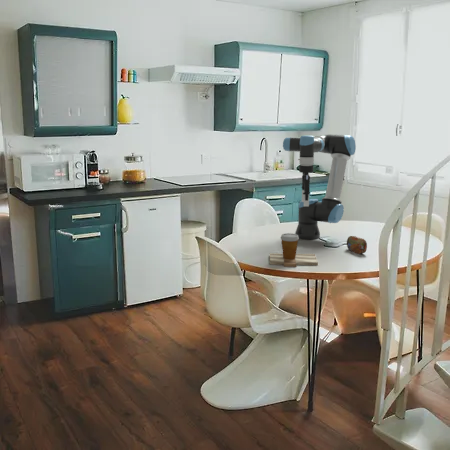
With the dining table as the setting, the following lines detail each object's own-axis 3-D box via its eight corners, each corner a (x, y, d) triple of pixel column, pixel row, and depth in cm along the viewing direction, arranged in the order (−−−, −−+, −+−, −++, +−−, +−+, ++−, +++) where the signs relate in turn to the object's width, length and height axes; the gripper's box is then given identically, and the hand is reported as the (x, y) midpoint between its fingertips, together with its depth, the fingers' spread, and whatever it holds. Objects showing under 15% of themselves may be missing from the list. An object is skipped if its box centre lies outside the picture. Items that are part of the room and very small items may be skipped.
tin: (345, 249, 306) (346, 234, 304) (350, 248, 307) (351, 233, 305) (362, 255, 292) (363, 240, 290) (367, 255, 293) (368, 239, 291)
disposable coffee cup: (296, 255, 288) (297, 233, 285) (299, 260, 279) (300, 237, 276) (279, 255, 288) (279, 233, 285) (281, 260, 278) (281, 237, 276)
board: (269, 254, 295) (269, 251, 294) (314, 255, 293) (314, 252, 293) (270, 266, 273) (270, 263, 273) (318, 267, 272) (318, 264, 271)
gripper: (297, 162, 302) (296, 200, 307) (300, 167, 278) (299, 208, 282) (311, 162, 302) (310, 200, 306) (315, 167, 277) (314, 208, 282)
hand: (305, 204), depth 294 cm, fingers open, 13 cm apart
